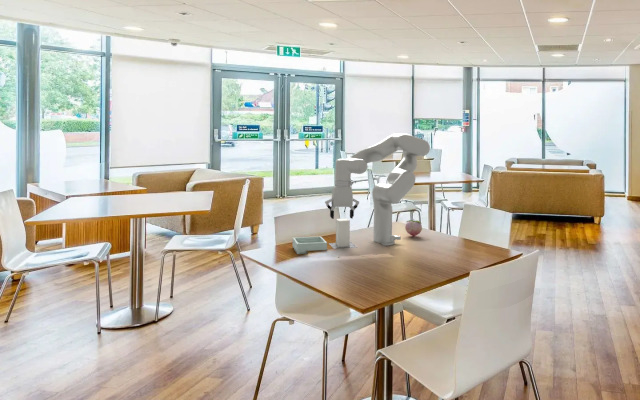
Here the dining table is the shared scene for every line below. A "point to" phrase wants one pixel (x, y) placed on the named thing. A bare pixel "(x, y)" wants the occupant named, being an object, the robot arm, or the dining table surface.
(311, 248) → the bin
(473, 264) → the dining table surface
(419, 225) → the decorative fruit
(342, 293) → the dining table surface
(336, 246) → the stud base
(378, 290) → the dining table surface
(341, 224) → the light grey block
